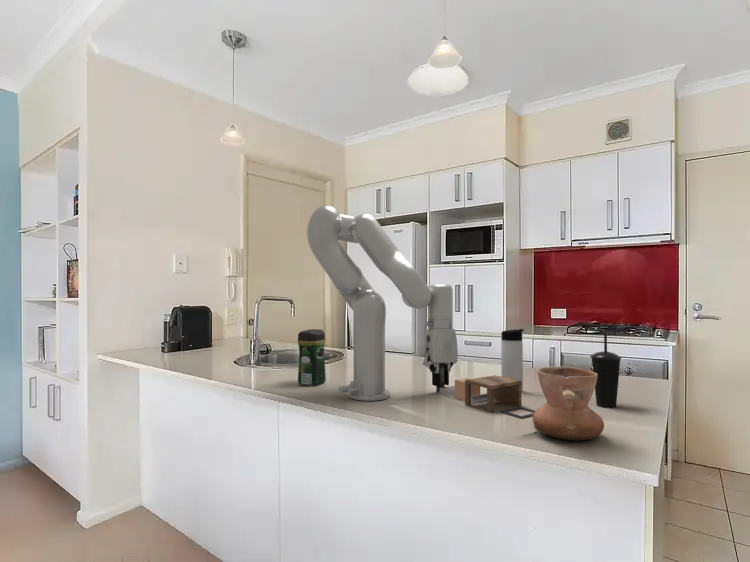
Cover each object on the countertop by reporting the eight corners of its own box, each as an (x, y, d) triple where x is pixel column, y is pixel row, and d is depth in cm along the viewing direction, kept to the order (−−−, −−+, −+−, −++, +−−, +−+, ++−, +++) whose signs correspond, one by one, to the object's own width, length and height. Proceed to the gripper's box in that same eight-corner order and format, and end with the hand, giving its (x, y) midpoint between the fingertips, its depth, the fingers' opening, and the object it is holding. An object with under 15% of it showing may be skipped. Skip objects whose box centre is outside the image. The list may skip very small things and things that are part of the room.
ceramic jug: (608, 452, 89) (608, 380, 89) (531, 443, 94) (530, 375, 94) (599, 426, 105) (598, 365, 106) (534, 420, 111) (533, 362, 111)
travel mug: (525, 397, 134) (524, 330, 134) (502, 396, 135) (501, 329, 135) (522, 392, 140) (522, 328, 140) (500, 391, 141) (500, 327, 141)
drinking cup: (619, 403, 126) (618, 332, 127) (624, 410, 119) (623, 334, 120) (589, 401, 129) (588, 331, 129) (592, 407, 122) (592, 333, 122)
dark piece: (521, 424, 107) (521, 417, 107) (499, 418, 112) (499, 410, 112) (541, 419, 111) (541, 412, 111) (520, 413, 116) (520, 406, 116)
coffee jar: (310, 380, 159) (310, 327, 160) (329, 382, 156) (329, 328, 156) (293, 385, 151) (293, 330, 151) (313, 387, 147) (313, 331, 148)
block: (467, 401, 124) (467, 382, 124) (454, 397, 128) (454, 379, 128) (480, 398, 126) (480, 380, 126) (467, 395, 131) (467, 377, 131)
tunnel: (490, 418, 112) (490, 386, 112) (465, 410, 120) (464, 379, 120) (521, 411, 118) (521, 380, 119) (495, 403, 126) (495, 375, 126)
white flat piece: (471, 407, 121) (471, 370, 121) (429, 394, 136) (429, 361, 136) (489, 404, 125) (489, 368, 125) (446, 392, 140) (445, 359, 140)
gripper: (427, 326, 130) (427, 390, 129) (468, 324, 138) (468, 384, 138) (411, 325, 136) (411, 386, 136) (451, 322, 145) (451, 380, 144)
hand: (440, 384), depth 137 cm, fingers closed on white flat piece, 2 cm apart
